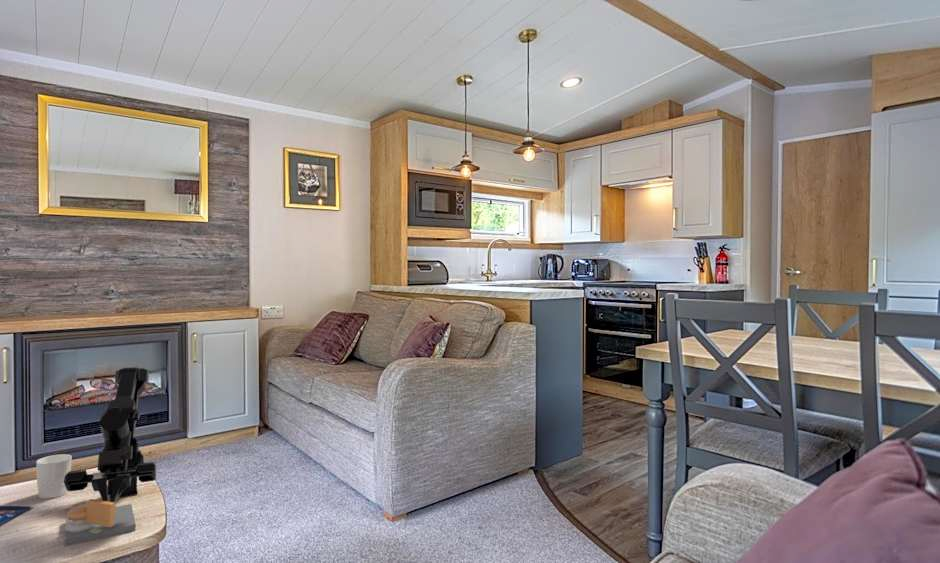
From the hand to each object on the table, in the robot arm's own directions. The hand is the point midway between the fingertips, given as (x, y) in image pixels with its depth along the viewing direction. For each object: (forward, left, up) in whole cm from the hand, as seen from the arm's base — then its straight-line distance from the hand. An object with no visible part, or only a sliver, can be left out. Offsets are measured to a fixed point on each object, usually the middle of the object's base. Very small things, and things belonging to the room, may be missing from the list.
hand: (107, 510), depth 126 cm
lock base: (+1, -6, -6) cm, 9 cm away
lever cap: (+3, -2, -3) cm, 5 cm away
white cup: (+11, -36, -6) cm, 38 cm away
